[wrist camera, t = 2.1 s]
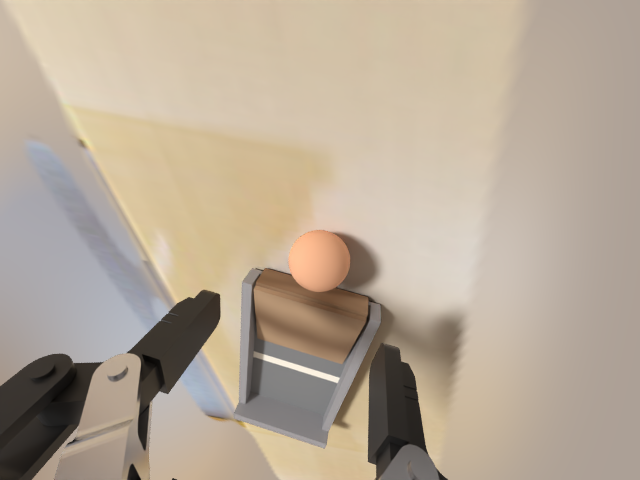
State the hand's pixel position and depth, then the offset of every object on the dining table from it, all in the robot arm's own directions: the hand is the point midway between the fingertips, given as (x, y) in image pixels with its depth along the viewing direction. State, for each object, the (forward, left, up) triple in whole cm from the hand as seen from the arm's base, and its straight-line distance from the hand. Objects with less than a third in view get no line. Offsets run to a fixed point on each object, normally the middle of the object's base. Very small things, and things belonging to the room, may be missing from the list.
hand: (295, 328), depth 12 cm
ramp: (+8, 0, -7) cm, 10 cm away
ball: (0, 0, -5) cm, 5 cm away
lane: (+14, 0, -7) cm, 15 cm away
